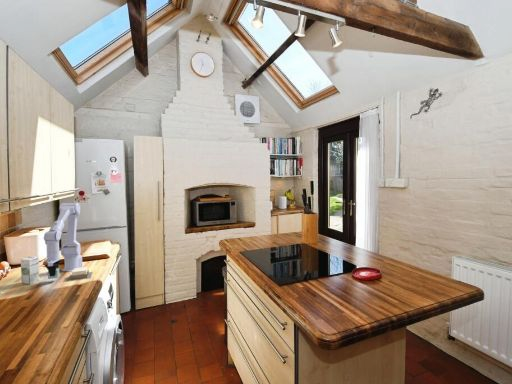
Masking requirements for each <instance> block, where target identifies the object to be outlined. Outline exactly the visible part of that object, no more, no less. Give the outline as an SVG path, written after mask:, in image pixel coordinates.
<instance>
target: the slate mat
mask: <svg viewBox="0 0 512 384" xmlns="http://www.w3.org/2000/svg"><path fill="white" fill-rule="evenodd" d="M93 274H94V271H89V274H88V277H87V278H81V279H74V280H71V275H72V274H69V276H68V278H67V280H66V282H67V283H69V282H73V281H81V280H91V278H92V275H93Z"/></svg>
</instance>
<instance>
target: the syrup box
mask: <svg viewBox="0 0 512 384" xmlns="http://www.w3.org/2000/svg"><path fill="white" fill-rule="evenodd" d="M39 263H40V262H39V256H27V257H23V258H20V271H21V273H20V274H21V275H20V276H21V284H22V285H32V284H34V283H35V284H36V283H37V282H40V267H39V265H40V264H39Z"/></svg>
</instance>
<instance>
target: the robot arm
mask: <svg viewBox="0 0 512 384" xmlns="http://www.w3.org/2000/svg"><path fill="white" fill-rule="evenodd" d="M58 209H59V214H58V217H57V220H55V221H54V222H52V224H51V226H50V227H49V230H48V231H46V232H45V233H44V236H43V240H44V244H45V245H46V259H45V258H44V261H43V262H46V263H47V264H45V268H46V269H47V272H48V271H49V274H50V277H51V276H55V274H56V268H59V266H60V263H61V261H62V260H61V257H60V255H61V256H62V257H63V258H64V268H63V269H61V271H63V272H71V273H72V272H73V270H74V268H82V267H84V266H83V257H82V255H81V253H82V252H81V251H82V248H81V247H82V246H81V243H80V242H78V241H77V228H78V227H77V226H78V217H79V216H80V214H81V204H80V203H79V202H77V203H75V202H73V203H71V202H70V203H69V202H67V203H65V202H62V203H60V205H59V208H58ZM66 220H67V232H66V241H65V242H64V243H63V244H62V245H61V249H60V240H61V239H62V232H63V230H64V228H65V225H66V224H65V221H66Z"/></svg>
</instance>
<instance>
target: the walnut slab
mask: <svg viewBox="0 0 512 384" xmlns="http://www.w3.org/2000/svg"><path fill="white" fill-rule="evenodd" d="M89 272H90V270H89V269H88V271H87V273H86V274H82V275H74V276H72V274H70V275H71V280H74V279H81V278H87V277H88V274H89Z"/></svg>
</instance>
